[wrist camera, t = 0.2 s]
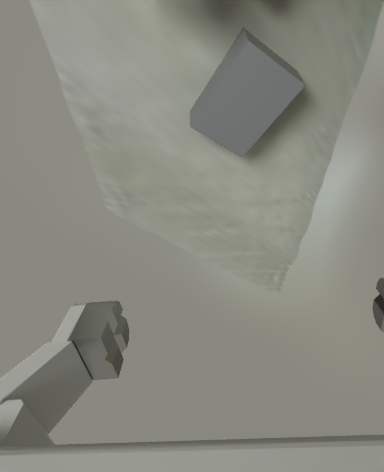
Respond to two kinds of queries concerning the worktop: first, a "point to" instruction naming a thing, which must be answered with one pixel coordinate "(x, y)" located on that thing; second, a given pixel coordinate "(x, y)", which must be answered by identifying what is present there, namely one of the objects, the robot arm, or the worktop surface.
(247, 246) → the worktop surface
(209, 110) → the stand
